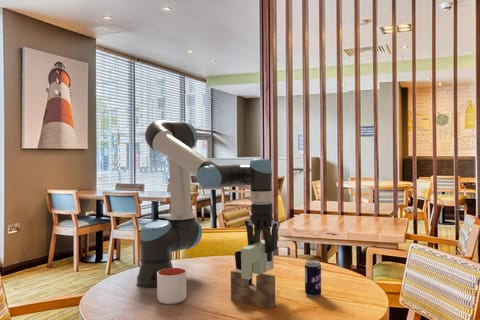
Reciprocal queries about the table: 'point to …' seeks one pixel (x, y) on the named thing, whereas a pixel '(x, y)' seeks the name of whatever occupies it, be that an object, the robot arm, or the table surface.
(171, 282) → the cup
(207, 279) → the table surface
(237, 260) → the cup
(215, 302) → the table surface
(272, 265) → the sage plate
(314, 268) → the beverage can
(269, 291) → the walnut stand
